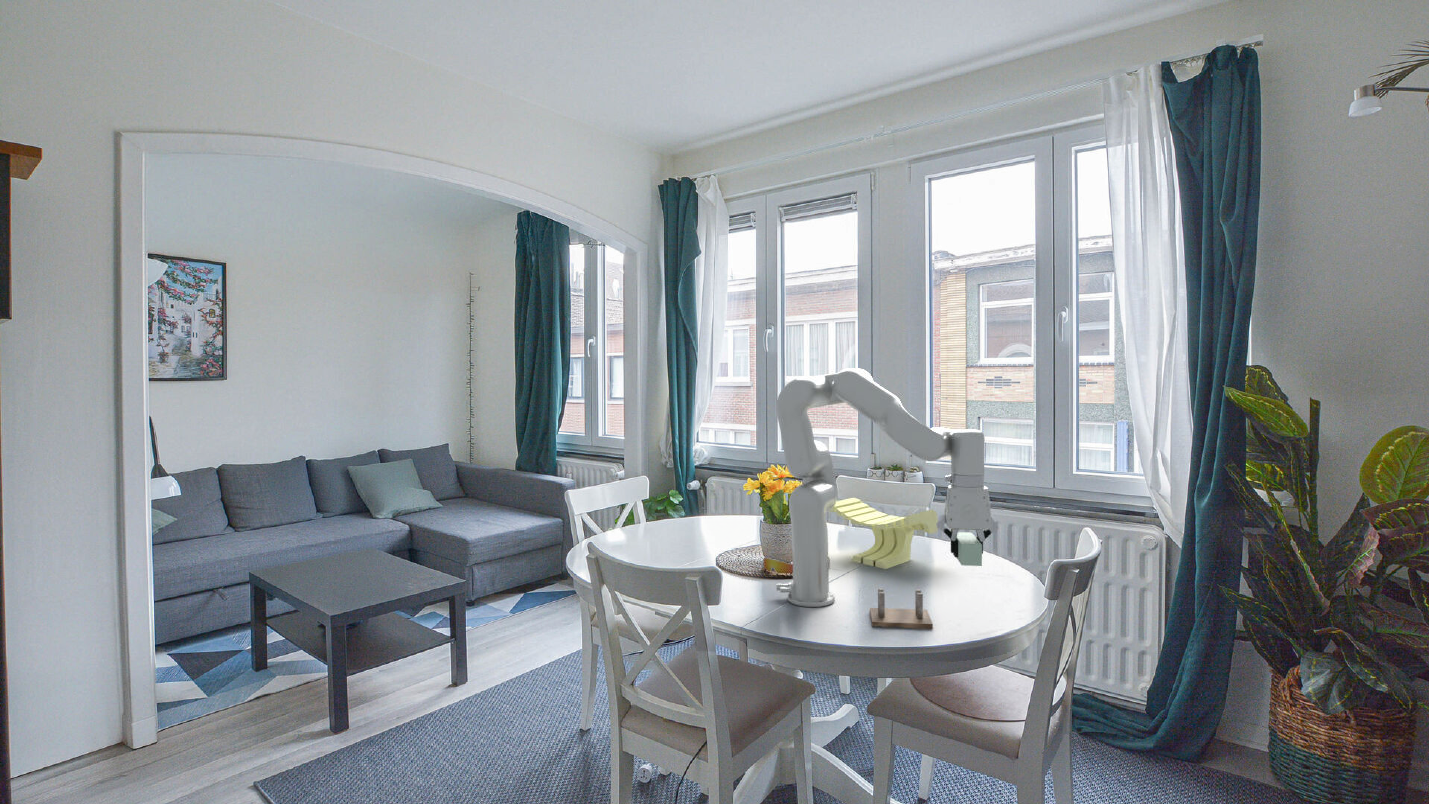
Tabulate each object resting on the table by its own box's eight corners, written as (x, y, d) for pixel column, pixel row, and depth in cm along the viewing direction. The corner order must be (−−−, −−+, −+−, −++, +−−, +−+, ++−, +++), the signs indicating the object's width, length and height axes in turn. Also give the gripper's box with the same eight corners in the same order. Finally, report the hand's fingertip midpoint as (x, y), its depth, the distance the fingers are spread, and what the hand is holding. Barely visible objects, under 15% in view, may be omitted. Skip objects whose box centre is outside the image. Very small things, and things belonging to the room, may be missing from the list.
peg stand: (872, 626, 170) (872, 597, 170) (869, 612, 180) (869, 584, 180) (932, 628, 168) (932, 599, 168) (926, 614, 178) (926, 586, 177)
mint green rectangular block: (961, 565, 165) (961, 544, 165) (952, 551, 177) (952, 532, 177) (981, 566, 164) (982, 544, 164) (971, 552, 176) (971, 532, 176)
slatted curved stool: (937, 564, 223) (937, 507, 222) (909, 574, 212) (908, 515, 211) (859, 547, 245) (858, 496, 244) (830, 556, 234) (829, 502, 234)
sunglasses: (754, 571, 219) (755, 555, 220) (785, 568, 230) (786, 552, 230) (790, 580, 209) (791, 563, 210) (820, 576, 220) (821, 560, 220)
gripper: (933, 483, 167) (932, 559, 168) (1008, 484, 165) (1007, 561, 166) (928, 478, 175) (928, 551, 176) (1000, 479, 172) (999, 553, 173)
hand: (966, 555), depth 171 cm, fingers closed on mint green rectangular block, 4 cm apart
